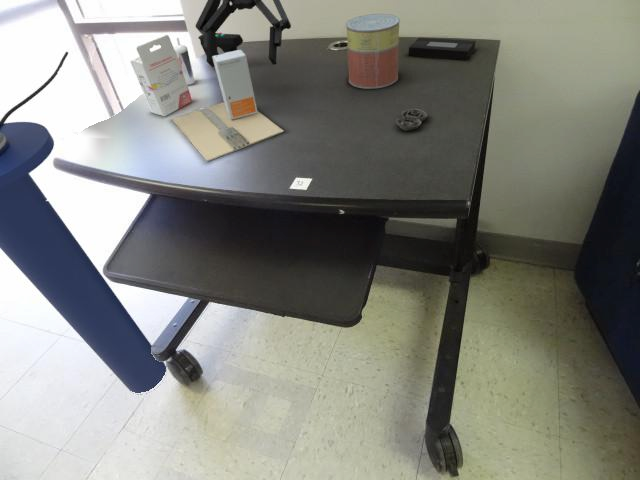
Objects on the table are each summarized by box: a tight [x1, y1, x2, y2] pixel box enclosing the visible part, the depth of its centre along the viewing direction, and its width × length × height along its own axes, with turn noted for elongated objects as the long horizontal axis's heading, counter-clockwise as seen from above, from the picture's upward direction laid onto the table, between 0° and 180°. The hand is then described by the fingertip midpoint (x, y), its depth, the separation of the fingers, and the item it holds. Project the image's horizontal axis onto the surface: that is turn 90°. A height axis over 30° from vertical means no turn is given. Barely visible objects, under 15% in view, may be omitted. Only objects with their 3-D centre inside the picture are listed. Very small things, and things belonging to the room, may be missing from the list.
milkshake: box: [173, 37, 196, 86], centre depth 99 cm, size 4×5×10 cm
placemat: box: [171, 101, 285, 162], centre depth 82 cm, size 22×16×1 cm
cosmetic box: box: [212, 49, 259, 120], centre depth 81 cm, size 6×4×12 cm
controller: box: [197, 32, 244, 57], centre depth 105 cm, size 4×12×10 cm, turn 66°
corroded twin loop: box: [395, 107, 428, 132], centre depth 75 cm, size 5×8×1 cm, turn 151°
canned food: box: [345, 13, 401, 90], centre depth 88 cm, size 11×11×12 cm
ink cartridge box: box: [129, 34, 193, 117], centre depth 87 cm, size 9×5×15 cm, turn 143°
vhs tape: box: [408, 37, 476, 61], centre depth 99 cm, size 8×14×2 cm, turn 60°
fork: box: [199, 106, 249, 150], centre depth 81 cm, size 21×3×1 cm, turn 32°
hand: (241, 63), depth 84 cm, fingers open, 13 cm apart
